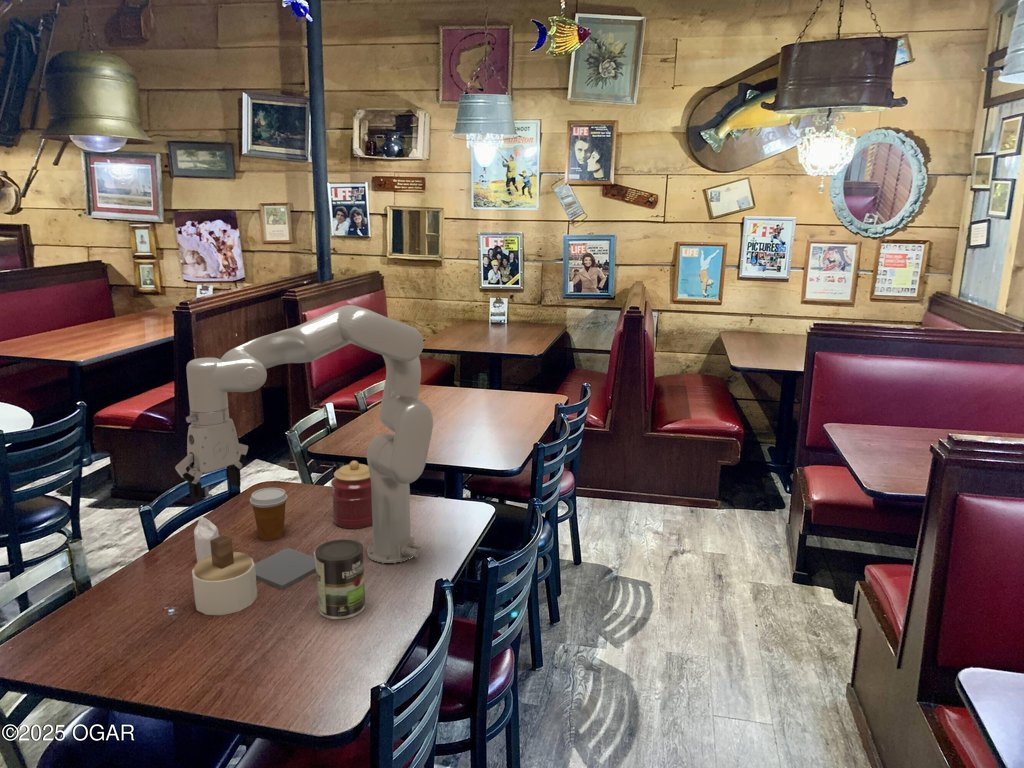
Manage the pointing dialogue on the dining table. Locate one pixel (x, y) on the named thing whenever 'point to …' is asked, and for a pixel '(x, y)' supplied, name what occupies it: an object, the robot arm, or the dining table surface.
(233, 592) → the bowl
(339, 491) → the canister
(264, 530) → the disposable coffee cup
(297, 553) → the mat
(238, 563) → the lid
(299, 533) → the dining table surface
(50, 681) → the dining table surface
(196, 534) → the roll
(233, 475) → the robot arm
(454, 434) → the dining table surface
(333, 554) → the coffee can
